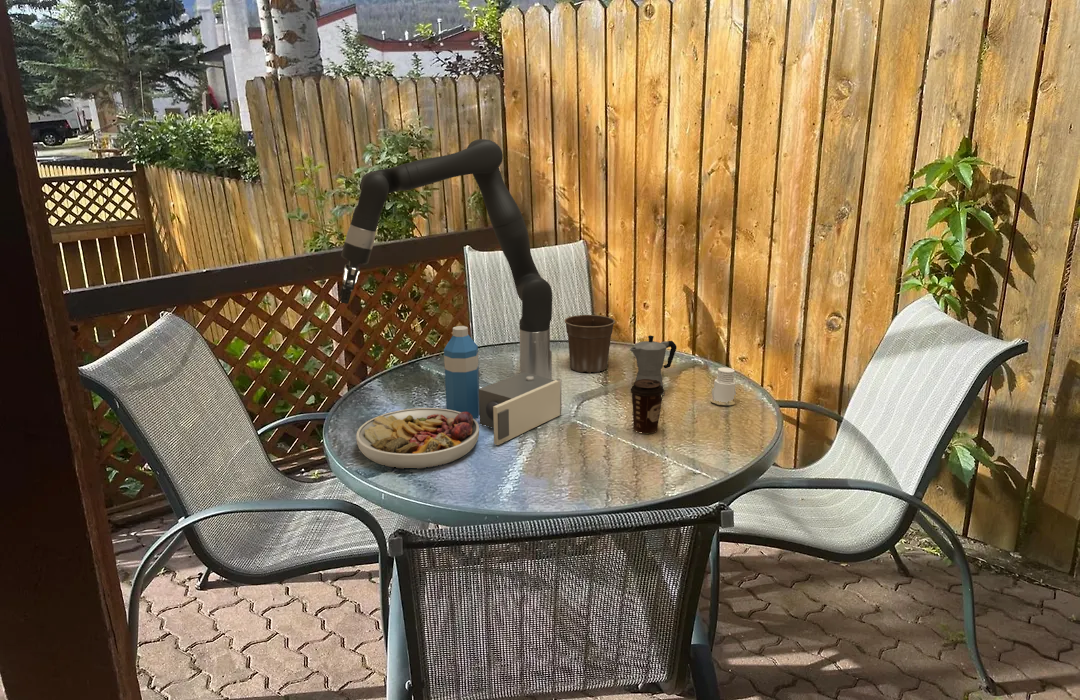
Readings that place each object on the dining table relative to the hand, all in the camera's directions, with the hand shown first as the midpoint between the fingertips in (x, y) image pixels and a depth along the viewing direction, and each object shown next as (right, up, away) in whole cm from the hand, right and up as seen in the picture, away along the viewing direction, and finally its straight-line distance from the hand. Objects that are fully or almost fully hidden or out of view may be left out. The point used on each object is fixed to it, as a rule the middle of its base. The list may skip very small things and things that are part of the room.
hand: (343, 299), depth 213 cm
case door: (+52, -35, -12) cm, 64 cm away
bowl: (+24, -39, -22) cm, 51 cm away
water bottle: (+33, -32, -2) cm, 47 cm away
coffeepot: (+88, -27, +14) cm, 93 cm away
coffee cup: (+82, -35, -12) cm, 90 cm away
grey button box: (+49, -33, -5) cm, 59 cm away
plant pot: (+71, -20, +38) cm, 83 cm away
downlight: (+107, -29, +7) cm, 111 cm away
